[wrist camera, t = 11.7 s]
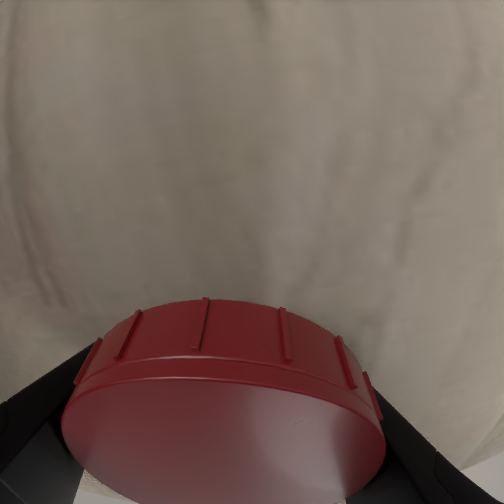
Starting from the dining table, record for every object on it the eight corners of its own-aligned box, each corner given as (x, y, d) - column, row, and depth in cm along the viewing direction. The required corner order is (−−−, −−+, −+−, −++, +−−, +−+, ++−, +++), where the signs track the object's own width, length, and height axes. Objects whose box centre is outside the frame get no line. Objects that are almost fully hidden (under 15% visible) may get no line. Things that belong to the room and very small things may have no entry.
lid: (257, 223, 5) (260, 287, 3) (400, 417, 7) (420, 473, 5) (47, 373, 7) (16, 426, 5) (212, 485, 9) (208, 532, 7)
